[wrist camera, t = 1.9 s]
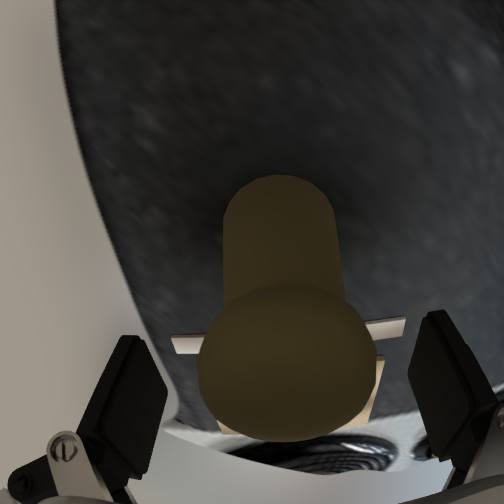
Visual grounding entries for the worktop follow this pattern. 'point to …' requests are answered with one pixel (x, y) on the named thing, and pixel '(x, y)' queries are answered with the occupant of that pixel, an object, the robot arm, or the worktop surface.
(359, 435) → the worktop surface
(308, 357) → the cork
